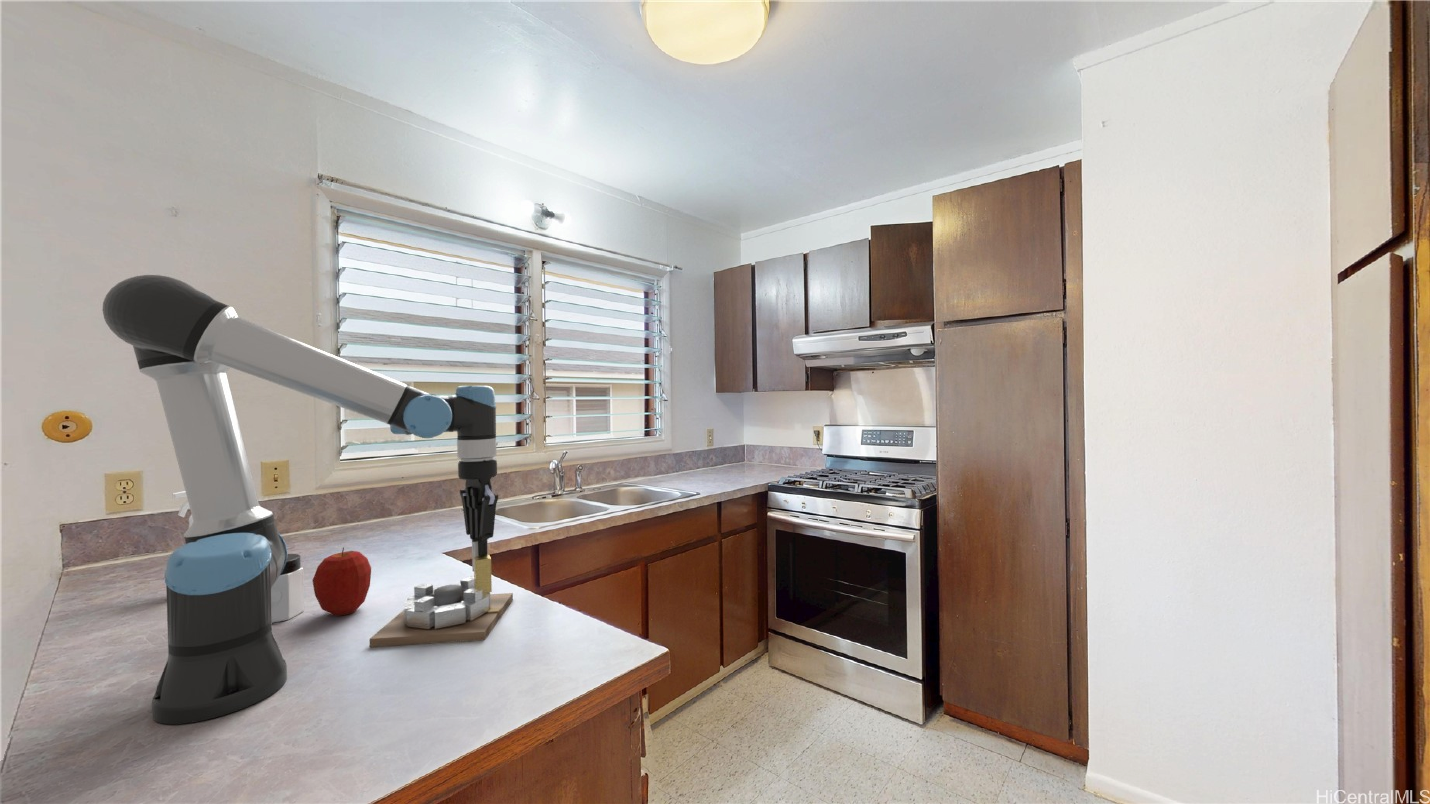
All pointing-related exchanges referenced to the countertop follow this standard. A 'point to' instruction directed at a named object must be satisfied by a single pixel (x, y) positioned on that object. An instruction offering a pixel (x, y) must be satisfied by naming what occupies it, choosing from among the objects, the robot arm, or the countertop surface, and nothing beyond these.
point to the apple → (342, 582)
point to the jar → (288, 591)
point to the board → (466, 631)
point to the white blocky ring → (472, 606)
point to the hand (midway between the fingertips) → (480, 570)
